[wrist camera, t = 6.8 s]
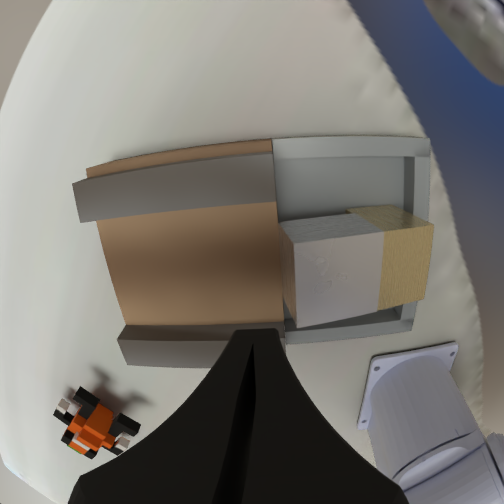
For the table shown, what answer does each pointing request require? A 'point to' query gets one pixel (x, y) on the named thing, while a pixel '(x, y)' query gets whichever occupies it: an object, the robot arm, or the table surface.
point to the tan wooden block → (400, 253)
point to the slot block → (188, 248)
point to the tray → (351, 204)
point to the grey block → (330, 267)
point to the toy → (94, 426)
